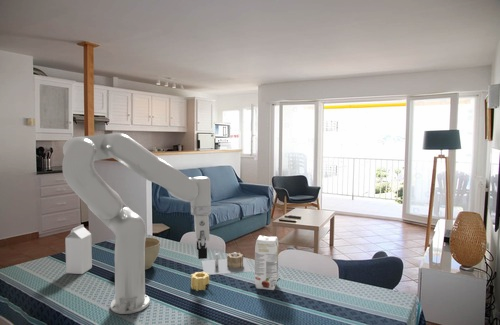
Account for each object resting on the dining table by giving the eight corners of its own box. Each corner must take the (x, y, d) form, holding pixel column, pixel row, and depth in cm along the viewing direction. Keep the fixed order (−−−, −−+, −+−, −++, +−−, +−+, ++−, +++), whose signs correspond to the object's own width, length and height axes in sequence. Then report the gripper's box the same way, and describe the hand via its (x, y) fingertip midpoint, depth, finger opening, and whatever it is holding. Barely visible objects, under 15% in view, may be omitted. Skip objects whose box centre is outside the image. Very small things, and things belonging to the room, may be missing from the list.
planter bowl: (154, 274, 139) (153, 248, 138) (115, 273, 140) (114, 248, 139) (164, 260, 155) (164, 237, 154) (129, 259, 156) (129, 236, 155)
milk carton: (92, 267, 145) (91, 224, 144) (82, 274, 138) (81, 229, 137) (76, 267, 146) (75, 223, 145) (66, 273, 139) (64, 228, 138)
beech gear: (245, 266, 146) (246, 256, 146) (232, 269, 142) (232, 259, 142) (237, 261, 151) (237, 251, 151) (224, 264, 148) (224, 254, 147)
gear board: (252, 275, 140) (252, 258, 140) (204, 278, 136) (204, 261, 136) (245, 261, 156) (245, 246, 155) (201, 263, 152) (201, 248, 151)
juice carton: (276, 291, 126) (277, 241, 124) (253, 289, 127) (254, 240, 126) (278, 283, 133) (279, 235, 132) (256, 281, 135) (257, 234, 133)
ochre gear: (209, 289, 126) (209, 278, 126) (191, 291, 125) (191, 279, 125) (208, 282, 133) (208, 271, 133) (190, 283, 132) (190, 272, 131)
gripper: (213, 214, 119) (214, 261, 121) (208, 204, 136) (209, 245, 137) (191, 215, 118) (192, 263, 119) (190, 205, 134) (191, 246, 136)
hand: (201, 253), depth 128 cm, fingers open, 9 cm apart
